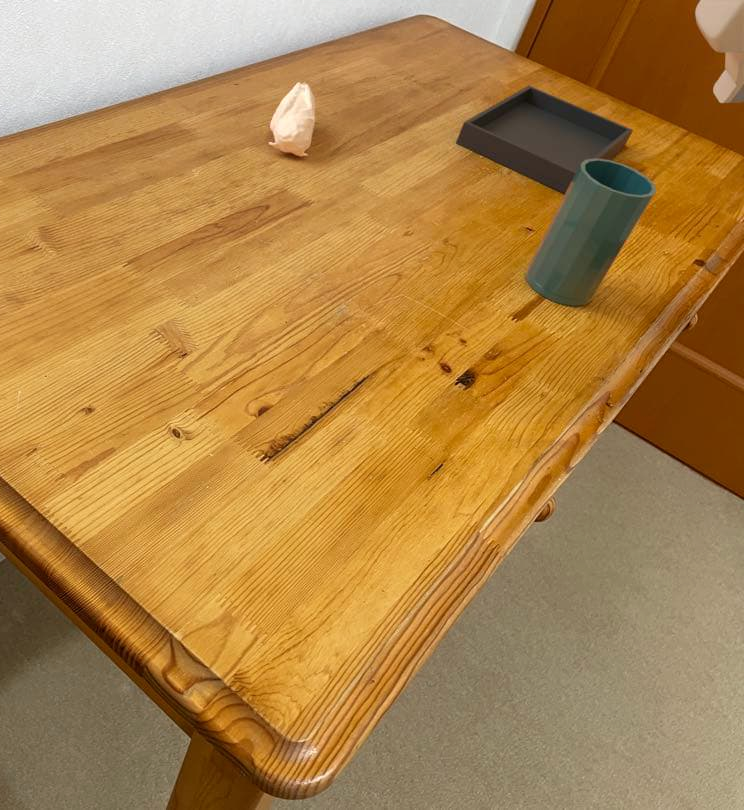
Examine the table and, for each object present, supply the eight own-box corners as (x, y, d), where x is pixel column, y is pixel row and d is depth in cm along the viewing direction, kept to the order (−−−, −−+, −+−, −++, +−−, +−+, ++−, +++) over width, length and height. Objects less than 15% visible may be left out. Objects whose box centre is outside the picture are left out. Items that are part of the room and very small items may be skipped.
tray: (520, 104, 119) (528, 85, 117) (622, 149, 114) (633, 129, 112) (455, 143, 106) (463, 121, 104) (568, 196, 100) (579, 174, 98)
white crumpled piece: (261, 129, 102) (266, 147, 93) (284, 73, 99) (291, 86, 90) (299, 144, 103) (307, 164, 94) (323, 89, 100) (334, 104, 91)
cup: (574, 268, 88) (634, 162, 80) (603, 308, 83) (670, 200, 75) (514, 263, 86) (569, 154, 78) (540, 303, 81) (601, 192, 73)
